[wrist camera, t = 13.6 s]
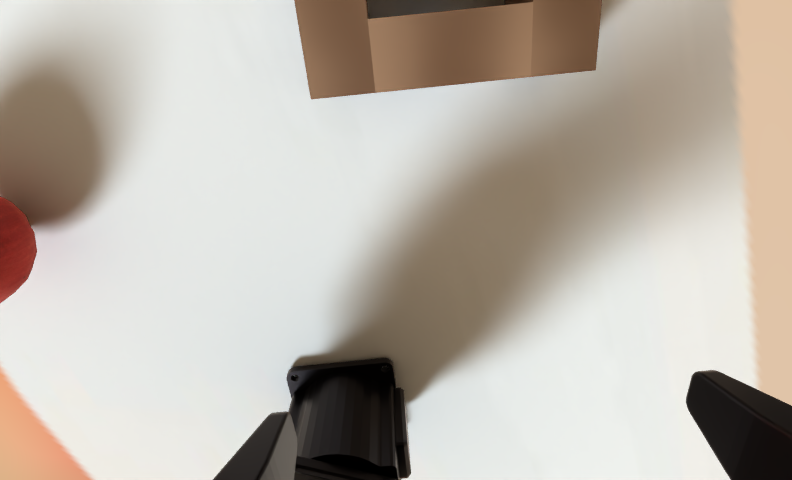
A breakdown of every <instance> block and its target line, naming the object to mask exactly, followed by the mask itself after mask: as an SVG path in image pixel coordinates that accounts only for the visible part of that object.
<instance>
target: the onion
mask: <svg viewBox="0 0 792 480" xmlns="http://www.w3.org/2000/svg"><path fill="white" fill-rule="evenodd" d="M36 253H37V248H36V241H35V234H34V231H33V229H32V228H31V226H30V224H29V222H28V219H27V217H26V215H25V214H24V213H23V212H22V211H21V210H19V209H18V208H17V207H16V206H15V205H14V204H13V203H12V202H10V201H8V200H7V199H5V198H3V197H1V196H0V303H1V302H3V301H4V300H5V299H7V298H8V297H9V296H11V295H12V294H13V293H15V292H16V290H17V289H18V288H19V287H20V286H21V285H22V284H23V283H24V282H25V281H26V280H27V279H28V277H29V274H30V272H31V270H32V267H33V264H34V260H35V257H36Z"/></svg>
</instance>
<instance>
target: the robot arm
mask: <svg viewBox="0 0 792 480" xmlns="http://www.w3.org/2000/svg"><path fill="white" fill-rule="evenodd" d="M383 366H388V367H387V368H383ZM293 375H297V376H298V377H295V376H293ZM287 382H288V386H289V390H290V394H291V398H292V401H291V404H290V408H289V412H276V413H271V414H270V415H269V416H268V417H267V418H266V419H265V420H264V421H263V422H262V424H261V425H260V426H259V427H258V428H257V429H256V430H255V432H254V433H253V434H252V435H251V436H250V437H249V439H248V440H247V441H246V442H245V443H244V444H243V445H242V447H241V448H240V449H239V450H238V451H237V452H236V454H235V455H234V456H233V457H232V458H231V459H230V461H229V462H228V463H227V464H226V465H225V466H224V467H223V469H222V470H221V471H220V472H219V473H218V474H217V476H216V477H215V478H214V479H213V480H401V479H402V478H408V477H409V475H410V474H411V467H410V453H409V440H408V427H407V416H406V407H405V398H404V390H402V389H401V388H396V382H395V374H394V366H393V362H392V361H391V360H390V359H388V358H381V359H371V360H361V361H351V362H341V363H331V364H321V365H311V366H301V367H293V368H291V369H290V370H289V371H288V374H287ZM686 404H687V407H688V410H689V412H690V414H691V415H692V417H693V419H694V420H695V422H696V424H697V425H698V427H699V429H700V430H701V432H702V433H703V435H704V437H705V438H706V440H707V442H708V443H709V445H710V447H711V448H712V450H713V452H714V453H715V455H716V457H717V458H718V460H719V462H720V463H721V465H722V467H723V468H724V470H725V471H726V473H727V474H728V476H729V478H730V479H731V480H792V406H791V405H789V404H787V403H785V402H782V401H780V400H778V399H776V398H774V397H772V396H770V395H767V394H765V393H763V392H761V391H759V390H757V389H755V388H753V387H751V386H748V385H746V384H744V383H742V382H740V381H738V380H736V379H733V378H731V377H729V376H727V375H725V374H723V373H721V372H718V371H715V370H708V371H698V372H695V373H694V374H693V375H692V378H691V381H690V385H689V389H688V393H687V397H686Z"/></svg>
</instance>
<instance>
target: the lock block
mask: <svg viewBox="0 0 792 480" xmlns="http://www.w3.org/2000/svg"><path fill="white" fill-rule="evenodd" d="M294 1H295V7H296V13H297V19H298V25H299V31H300V37H301V43H302V49H303V55H304V61H305V67H306V73H307V79H308V85H309V91H310V96H311V99H319V98H328V97H338V96H348V95H358V94H367V93H377V92H387V91H397V90H407V89H416V88H426V87H436V86H446V85H455V84H465V83H475V82H485V81H494V80H504V79H514V78H524V77H534V76H543V75H553V74H563V73H573V72H582V71H592V70H596V60H597V49H598V38H599V27H600V16H601V6H602V0H505V5H500V6H490V7H480V8H470V9H461V10H451V11H441V12H432V13H422V14H412V15H402V16H393V17H383V18H373V19H369V15H368V6H367V0H294Z"/></svg>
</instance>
